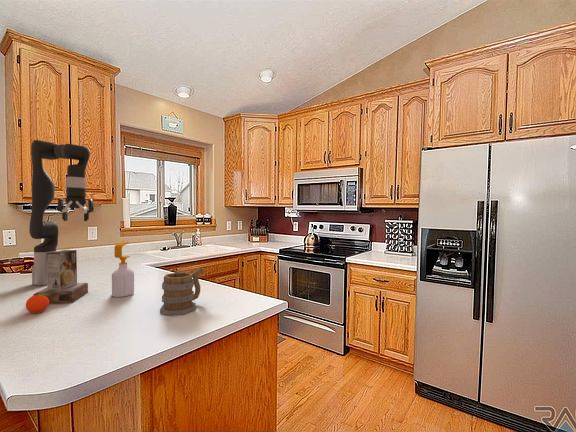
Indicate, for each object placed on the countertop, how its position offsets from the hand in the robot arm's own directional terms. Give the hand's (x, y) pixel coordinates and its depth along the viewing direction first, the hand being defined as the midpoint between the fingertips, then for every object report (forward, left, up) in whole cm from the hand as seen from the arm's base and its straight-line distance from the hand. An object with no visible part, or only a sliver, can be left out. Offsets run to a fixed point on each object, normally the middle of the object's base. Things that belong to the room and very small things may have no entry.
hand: (75, 220), depth 141 cm
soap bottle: (+23, -10, -34) cm, 42 cm away
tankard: (+53, -36, -34) cm, 73 cm away
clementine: (-1, -29, -34) cm, 45 cm away
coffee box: (-1, -11, -29) cm, 31 cm away
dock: (-1, -11, -34) cm, 36 cm away
